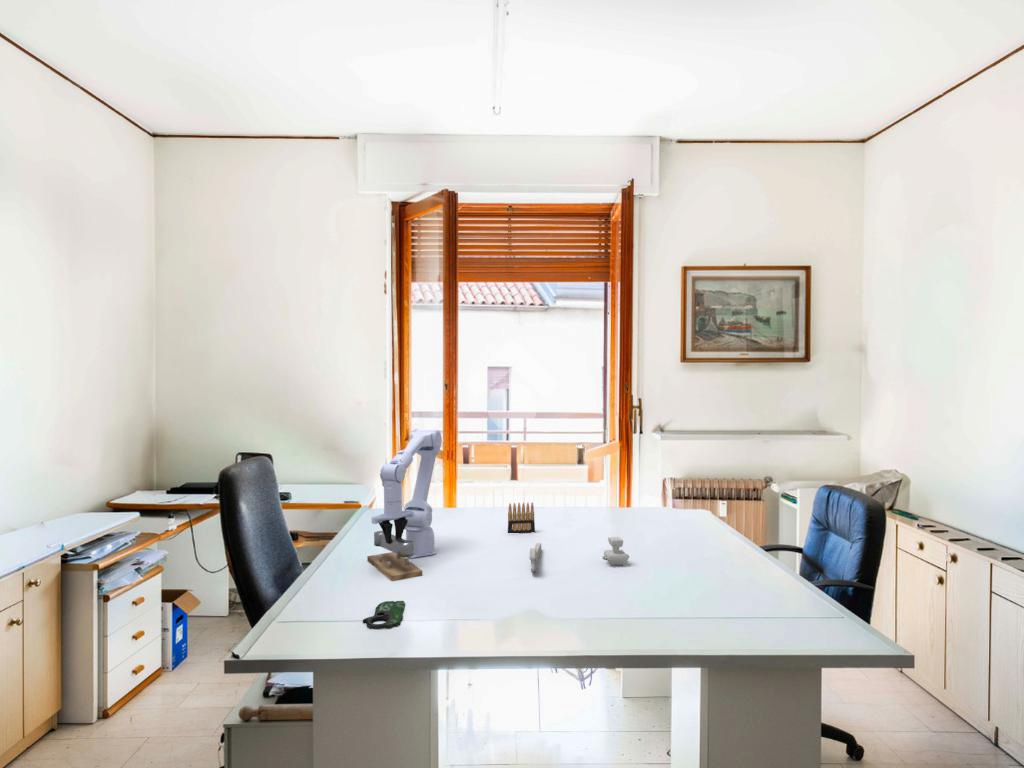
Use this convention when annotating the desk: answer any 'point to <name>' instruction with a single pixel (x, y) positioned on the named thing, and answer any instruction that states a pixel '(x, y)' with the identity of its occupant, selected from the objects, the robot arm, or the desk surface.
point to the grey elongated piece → (395, 544)
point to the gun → (386, 615)
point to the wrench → (535, 556)
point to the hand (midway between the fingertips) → (393, 542)
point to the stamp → (615, 552)
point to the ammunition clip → (521, 519)
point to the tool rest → (394, 566)
